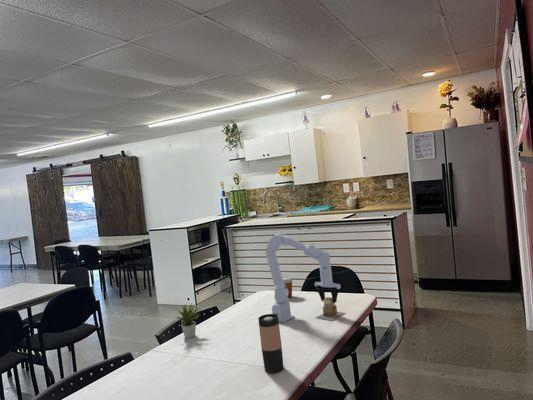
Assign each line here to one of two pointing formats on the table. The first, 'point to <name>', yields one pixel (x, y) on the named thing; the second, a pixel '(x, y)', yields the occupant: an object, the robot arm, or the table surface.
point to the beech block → (328, 302)
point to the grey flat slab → (330, 317)
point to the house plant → (188, 321)
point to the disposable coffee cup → (288, 284)
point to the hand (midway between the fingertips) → (329, 301)
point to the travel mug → (271, 343)
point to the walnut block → (330, 311)
